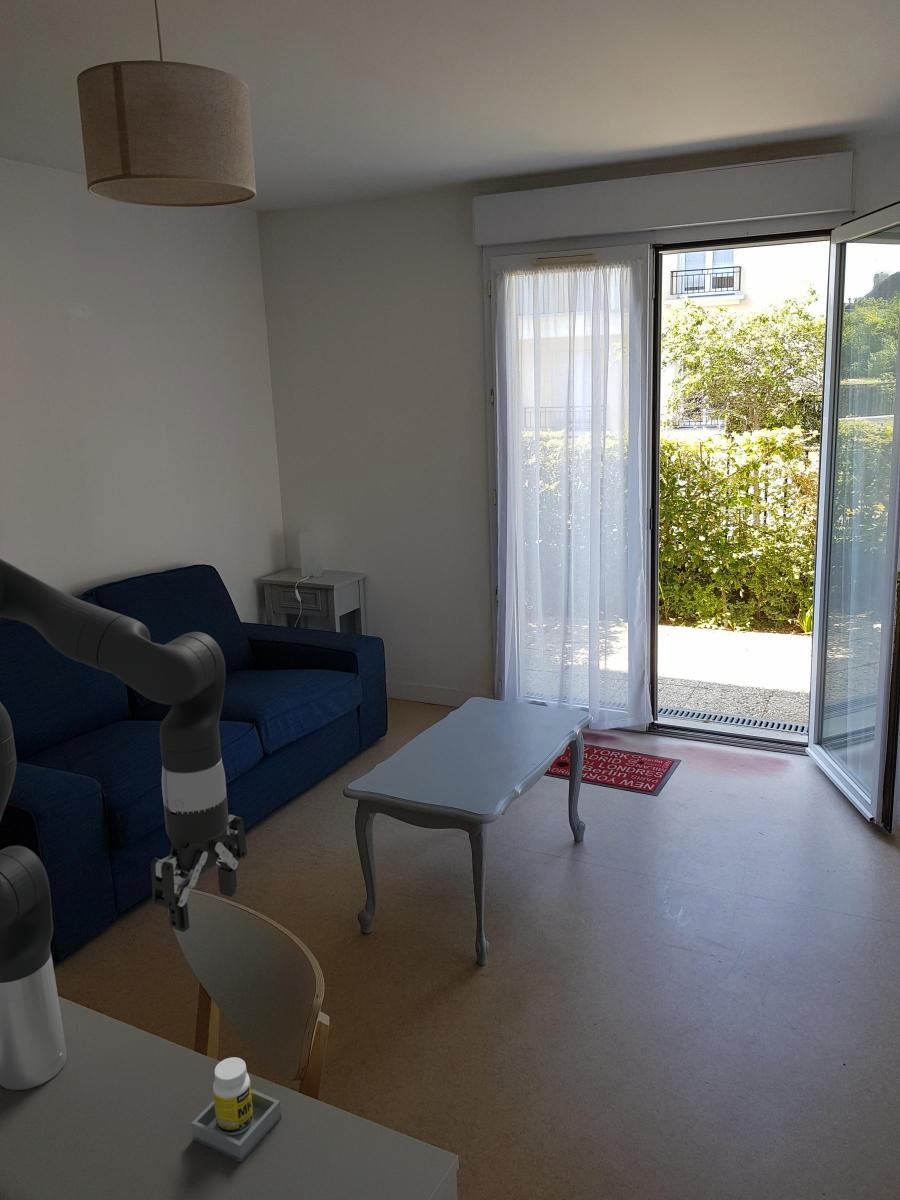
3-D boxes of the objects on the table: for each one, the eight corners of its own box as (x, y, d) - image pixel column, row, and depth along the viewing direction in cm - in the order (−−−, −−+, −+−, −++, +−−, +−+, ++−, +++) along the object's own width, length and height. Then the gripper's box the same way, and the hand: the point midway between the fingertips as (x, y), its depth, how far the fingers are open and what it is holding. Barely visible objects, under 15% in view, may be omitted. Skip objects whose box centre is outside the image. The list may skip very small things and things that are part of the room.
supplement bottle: (244, 1139, 119) (238, 1085, 116) (210, 1133, 120) (204, 1079, 117) (259, 1110, 123) (254, 1057, 121) (227, 1105, 124) (221, 1052, 122)
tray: (193, 1139, 120) (191, 1122, 119) (234, 1096, 126) (232, 1080, 126) (241, 1162, 116) (239, 1145, 115) (281, 1117, 123) (280, 1100, 122)
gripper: (211, 766, 122) (220, 876, 126) (128, 812, 109) (141, 933, 114) (256, 778, 118) (264, 891, 122) (175, 827, 106) (187, 950, 110)
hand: (205, 911), depth 118 cm, fingers open, 8 cm apart
